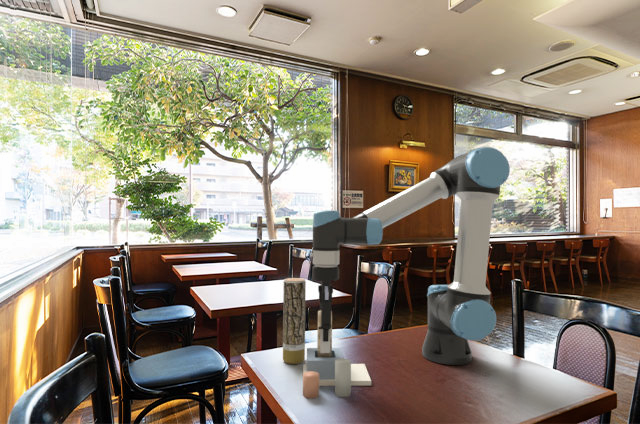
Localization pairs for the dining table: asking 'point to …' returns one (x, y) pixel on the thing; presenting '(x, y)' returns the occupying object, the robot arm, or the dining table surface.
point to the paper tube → (294, 320)
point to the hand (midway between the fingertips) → (324, 349)
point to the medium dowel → (342, 377)
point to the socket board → (355, 376)
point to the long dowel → (319, 355)
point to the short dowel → (311, 384)
